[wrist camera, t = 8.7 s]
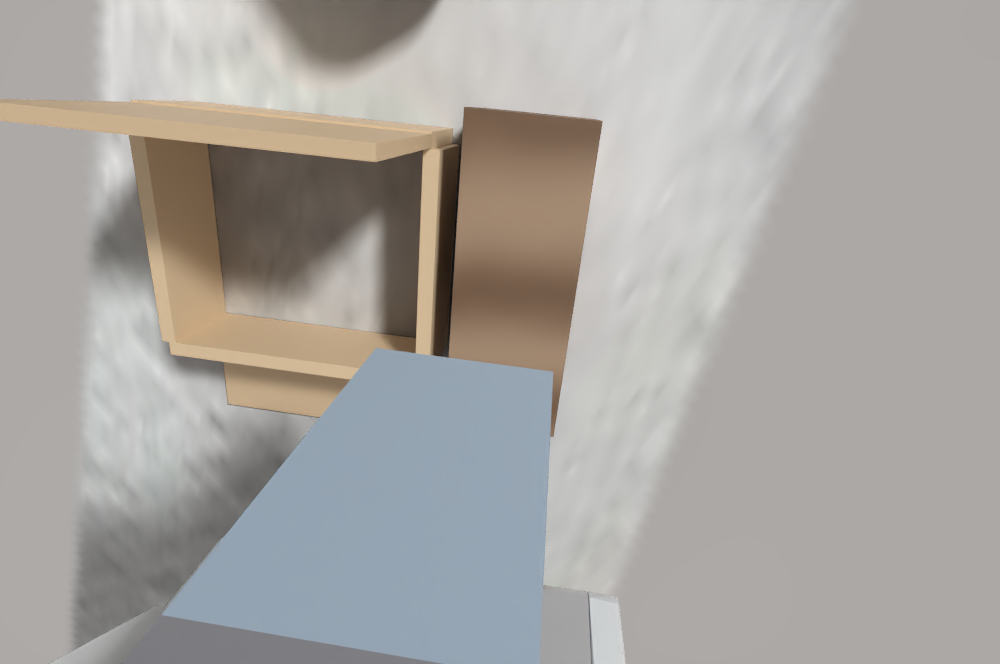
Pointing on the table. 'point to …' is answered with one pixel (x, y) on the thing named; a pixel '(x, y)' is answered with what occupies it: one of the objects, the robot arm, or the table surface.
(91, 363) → the table surface
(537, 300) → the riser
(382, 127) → the light wooden open box
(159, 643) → the blue-grey rectangular block
